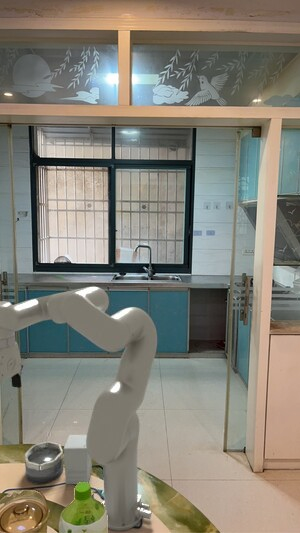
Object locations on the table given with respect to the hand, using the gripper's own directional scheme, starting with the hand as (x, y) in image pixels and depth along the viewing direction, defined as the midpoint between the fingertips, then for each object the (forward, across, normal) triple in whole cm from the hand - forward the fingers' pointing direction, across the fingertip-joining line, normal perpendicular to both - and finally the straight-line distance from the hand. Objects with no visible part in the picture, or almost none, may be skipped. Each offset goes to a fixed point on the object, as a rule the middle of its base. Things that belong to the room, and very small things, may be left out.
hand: (6, 393), depth 115 cm
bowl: (+29, +6, -8) cm, 31 cm away
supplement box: (+29, +7, -20) cm, 36 cm away
